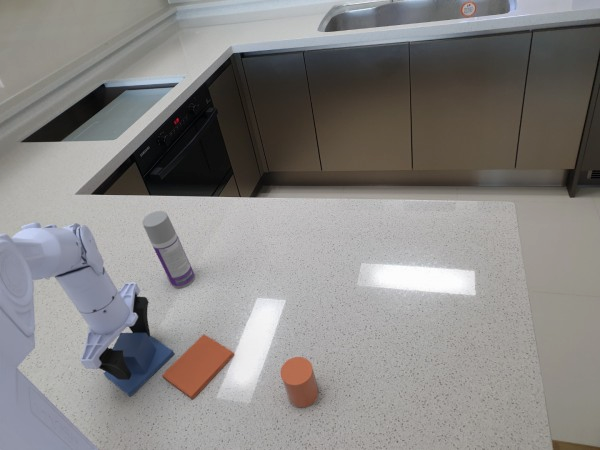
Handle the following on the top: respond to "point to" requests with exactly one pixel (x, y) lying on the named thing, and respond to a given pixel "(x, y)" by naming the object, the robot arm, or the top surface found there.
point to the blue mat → (139, 379)
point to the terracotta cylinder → (299, 381)
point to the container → (168, 249)
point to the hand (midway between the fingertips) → (134, 356)
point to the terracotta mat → (198, 366)
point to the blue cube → (136, 351)
